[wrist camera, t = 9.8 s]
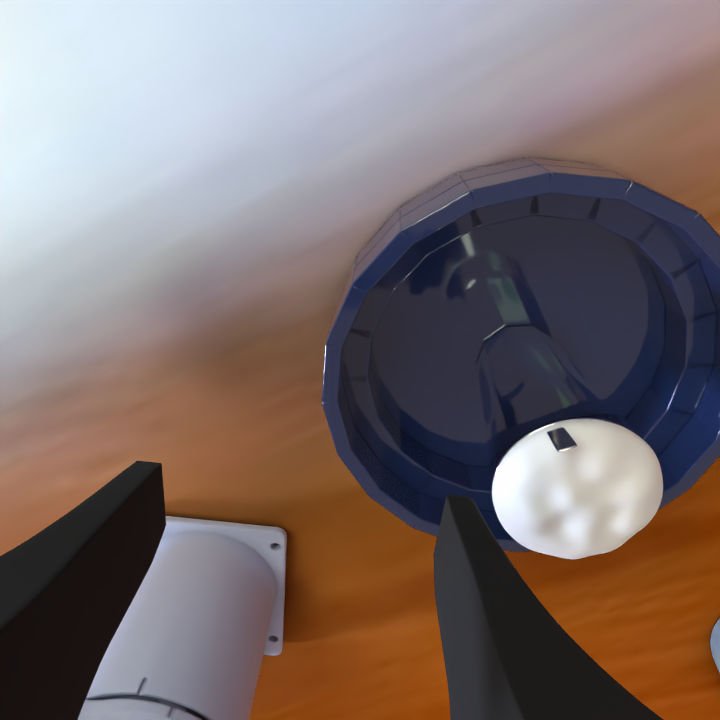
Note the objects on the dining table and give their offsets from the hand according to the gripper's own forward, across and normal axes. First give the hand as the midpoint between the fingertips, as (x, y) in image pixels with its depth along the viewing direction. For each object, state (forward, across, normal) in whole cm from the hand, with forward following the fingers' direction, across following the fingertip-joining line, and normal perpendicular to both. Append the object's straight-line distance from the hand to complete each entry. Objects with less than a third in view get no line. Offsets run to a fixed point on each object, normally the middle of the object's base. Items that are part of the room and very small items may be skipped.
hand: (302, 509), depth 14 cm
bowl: (+10, -7, 0) cm, 13 cm away
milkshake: (+10, -7, -1) cm, 12 cm away
